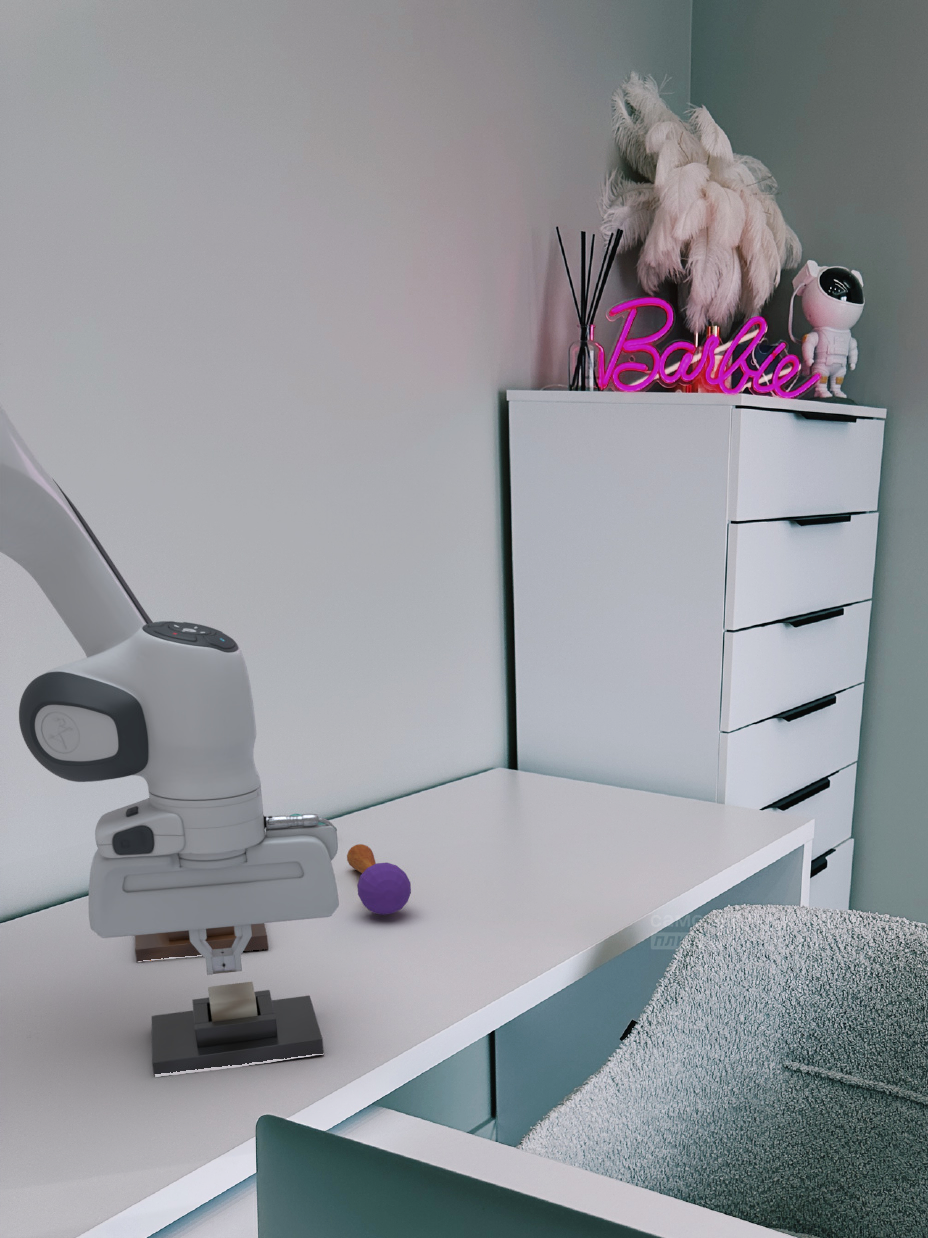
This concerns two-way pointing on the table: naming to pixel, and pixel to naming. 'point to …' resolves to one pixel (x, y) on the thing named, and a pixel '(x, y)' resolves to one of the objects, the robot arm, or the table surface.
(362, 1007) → the table surface
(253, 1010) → the front key
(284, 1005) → the dark grey socket base
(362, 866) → the purple maraca
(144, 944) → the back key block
